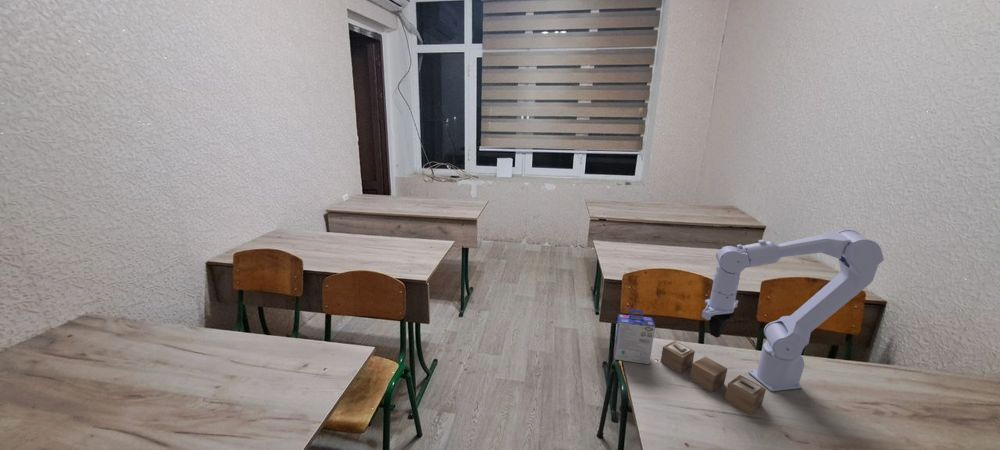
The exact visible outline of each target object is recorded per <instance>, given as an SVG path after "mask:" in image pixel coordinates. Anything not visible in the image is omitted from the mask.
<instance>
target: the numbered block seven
mask: <svg viewBox="0 0 1000 450" xmlns="http://www.w3.org/2000/svg"><path fill="white" fill-rule="evenodd" d="M695 351H696V350H694V349H692V348H690V347H688V346H687V345H684V344H683V343H680V342H679V341H677V340H674V341H672V342H670V343H668V344H665V345H664V346H662V351H661V358H660V363H662V364H664V365H666V366H667V367H669V368H671V369H673V370H674V371H676V372H678V373H679V374H681V373H682V372H684V371H686V370H688V369H689V368H692V364H693V363H694V357H695V353H696V352H695Z"/></svg>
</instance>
